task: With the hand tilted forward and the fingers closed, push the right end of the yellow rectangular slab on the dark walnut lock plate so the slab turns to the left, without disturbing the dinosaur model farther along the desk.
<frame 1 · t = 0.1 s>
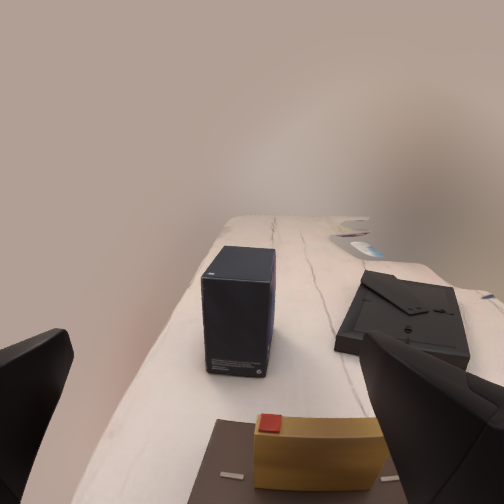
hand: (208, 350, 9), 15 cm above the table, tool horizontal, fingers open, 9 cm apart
yellow rectangular slab: (320, 457, 14), point 6 cm above the table, hinge at 0.0°
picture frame: (405, 322, 39), on the table
lock plate: (307, 503, 16), on the table
small box: (243, 349, 35), on the table
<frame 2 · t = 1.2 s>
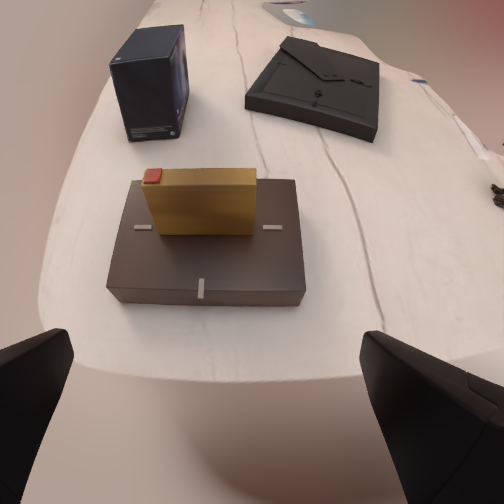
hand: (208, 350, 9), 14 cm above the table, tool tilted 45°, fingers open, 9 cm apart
yellow rectangular slab: (202, 203, 21), point 6 cm above the table, hinge at 0.0°
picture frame: (321, 86, 40), on the table
lock plate: (209, 248, 26), on the table
small box: (162, 115, 35), on the table
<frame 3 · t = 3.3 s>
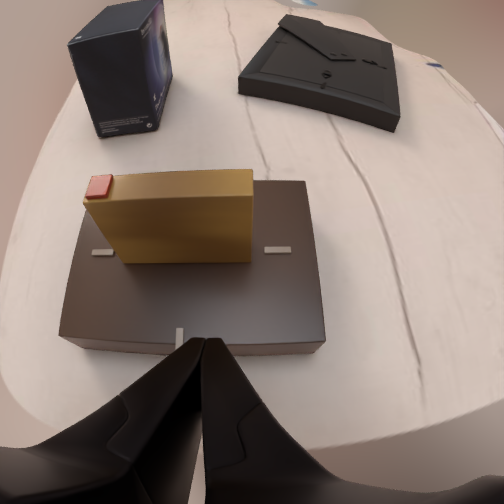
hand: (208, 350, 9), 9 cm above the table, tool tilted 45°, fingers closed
yellow rectangular slab: (175, 221, 14), point 6 cm above the table, hinge at 0.0°
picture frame: (328, 68, 33), on the table
lock plate: (193, 275, 19), on the table
small box: (139, 105, 29), on the table
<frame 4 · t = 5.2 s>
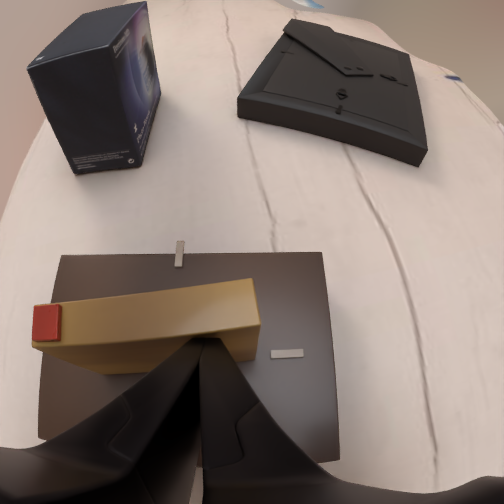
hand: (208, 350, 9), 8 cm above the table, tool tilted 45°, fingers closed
yellow rectangular slab: (155, 339, 10), point 6 cm above the table, hinge at 8.5°, touching gripper
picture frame: (341, 83, 29), on the table
lock plate: (185, 364, 16), on the table
small box: (122, 130, 25), on the table
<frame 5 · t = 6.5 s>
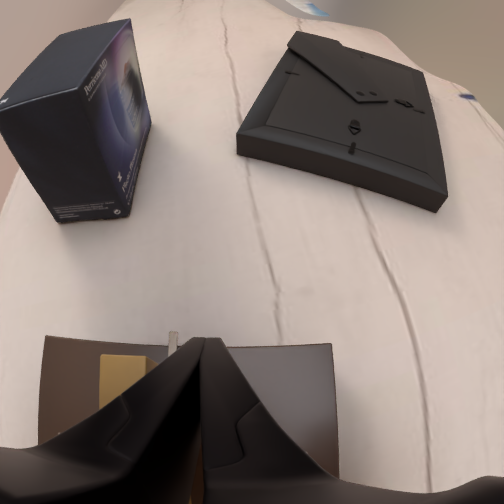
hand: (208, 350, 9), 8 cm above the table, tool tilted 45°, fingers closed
yellow rectangular slab: (152, 466, 8), point 6 cm above the table, hinge at 92.4°, touching gripper
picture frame: (352, 108, 27), on the table
lock plate: (184, 448, 13), on the table
small box: (108, 168, 23), on the table
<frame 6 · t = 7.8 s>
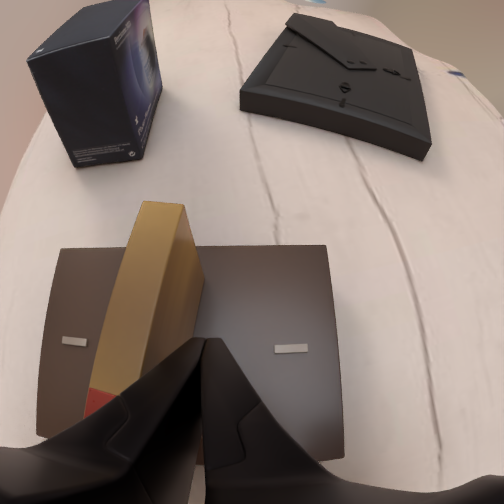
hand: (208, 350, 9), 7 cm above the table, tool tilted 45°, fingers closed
yellow rectangular slab: (155, 333, 10), point 6 cm above the table, hinge at 81.2°
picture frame: (344, 77, 28), on the table
lock plate: (186, 360, 15), on the table
small box: (123, 124, 24), on the table
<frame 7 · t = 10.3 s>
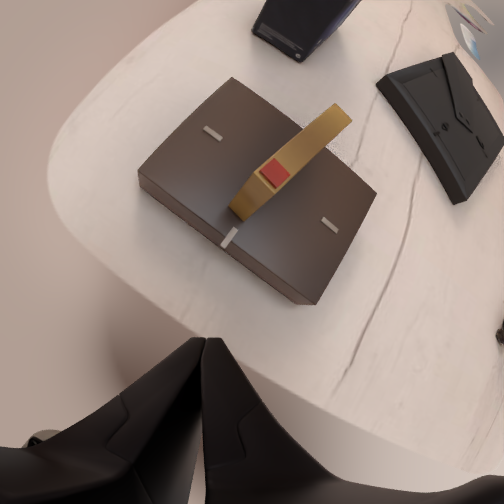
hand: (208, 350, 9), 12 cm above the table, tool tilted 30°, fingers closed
yellow rectangular slab: (289, 161, 18), point 6 cm above the table, hinge at 81.2°
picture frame: (449, 119, 33), on the table
lock plate: (258, 193, 23), on the table
small box: (298, 30, 27), on the table
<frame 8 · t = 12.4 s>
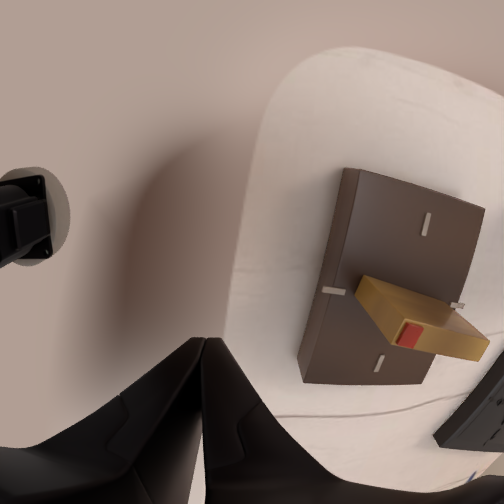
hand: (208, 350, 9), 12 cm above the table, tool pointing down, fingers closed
yellow rectangular slab: (424, 320, 15), point 6 cm above the table, hinge at 81.2°
lock plate: (385, 281, 21), on the table
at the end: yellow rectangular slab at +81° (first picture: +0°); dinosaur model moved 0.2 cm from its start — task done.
